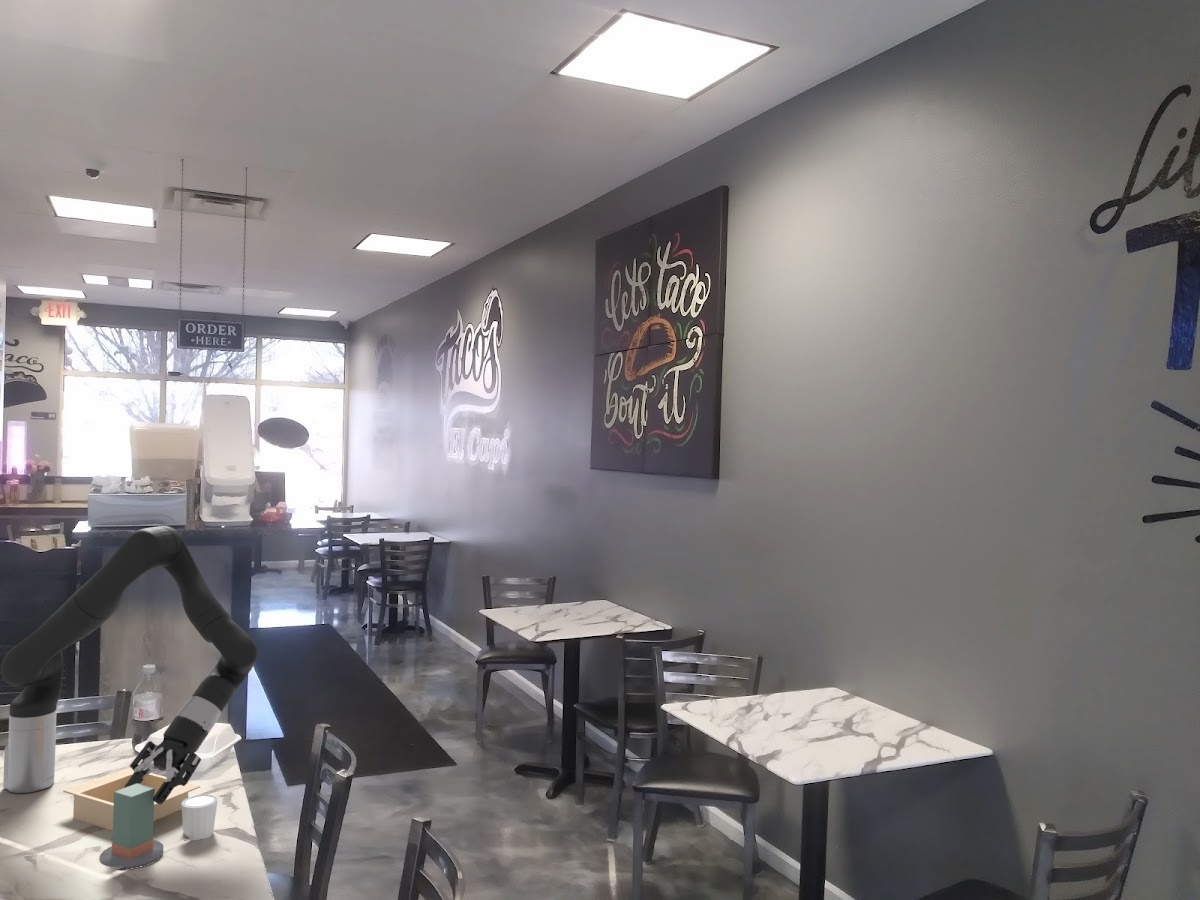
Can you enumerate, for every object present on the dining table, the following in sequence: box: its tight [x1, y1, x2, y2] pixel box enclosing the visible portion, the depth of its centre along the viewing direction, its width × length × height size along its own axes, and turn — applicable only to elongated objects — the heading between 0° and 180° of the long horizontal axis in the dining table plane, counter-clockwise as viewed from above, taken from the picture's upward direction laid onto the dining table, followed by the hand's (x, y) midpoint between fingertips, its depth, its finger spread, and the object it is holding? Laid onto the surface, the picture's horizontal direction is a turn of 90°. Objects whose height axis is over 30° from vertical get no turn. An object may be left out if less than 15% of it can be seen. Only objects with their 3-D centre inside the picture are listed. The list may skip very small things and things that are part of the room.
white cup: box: [181, 794, 218, 841], centre depth 181 cm, size 7×7×7 cm
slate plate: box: [99, 839, 164, 871], centre depth 171 cm, size 11×11×1 cm
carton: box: [62, 766, 201, 832], centre depth 189 cm, size 23×16×6 cm
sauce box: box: [111, 783, 155, 860], centre depth 171 cm, size 5×5×12 cm
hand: (141, 797), depth 172 cm, fingers open, 8 cm apart
